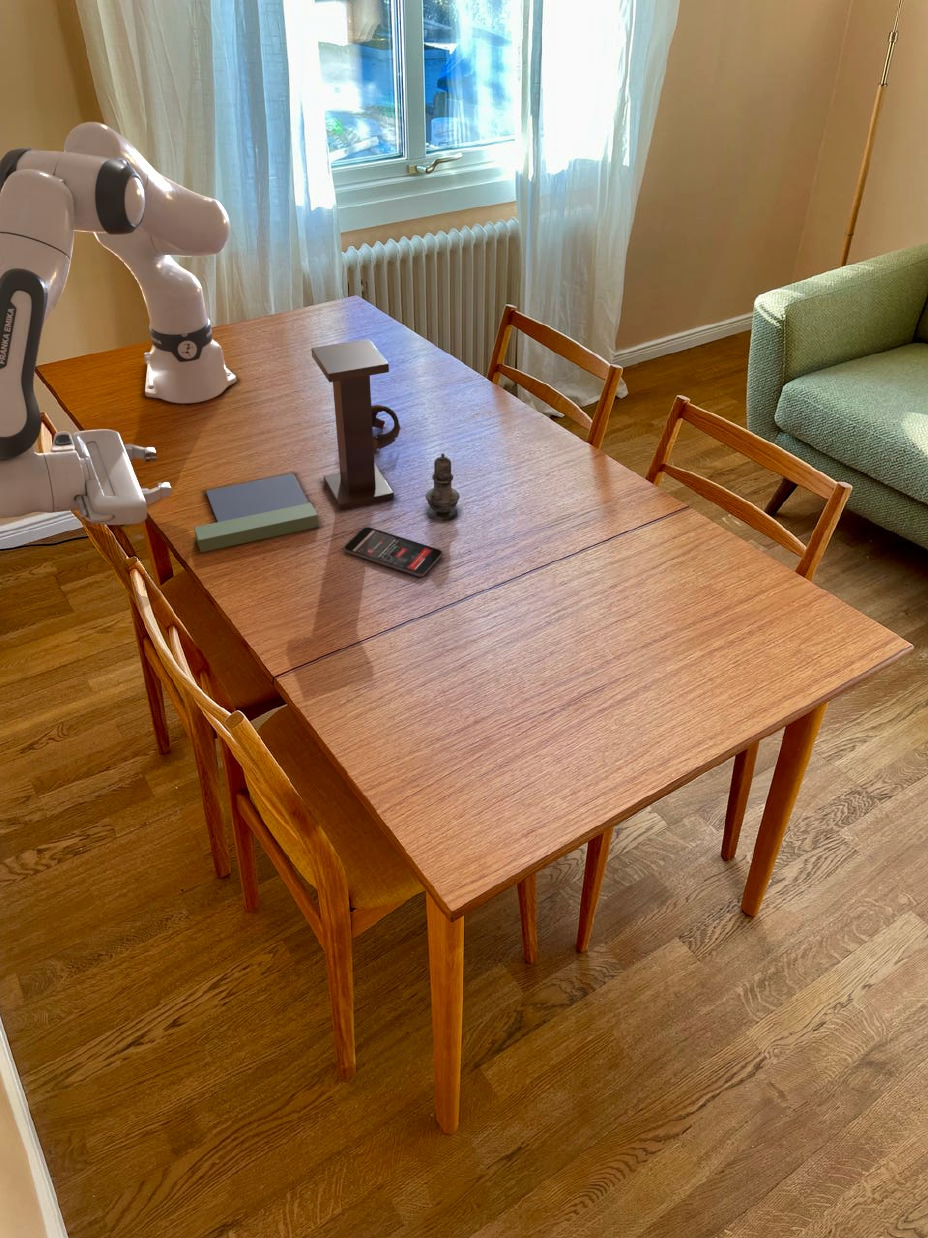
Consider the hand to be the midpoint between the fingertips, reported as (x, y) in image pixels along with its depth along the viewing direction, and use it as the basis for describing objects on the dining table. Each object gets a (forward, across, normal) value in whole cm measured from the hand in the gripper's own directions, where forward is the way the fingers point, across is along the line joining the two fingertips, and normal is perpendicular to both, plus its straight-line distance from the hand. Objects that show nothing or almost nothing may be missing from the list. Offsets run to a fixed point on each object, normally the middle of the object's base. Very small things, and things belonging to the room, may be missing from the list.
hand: (163, 471), depth 148 cm
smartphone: (+33, -19, +8) cm, 38 cm away
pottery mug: (+43, +16, +10) cm, 47 cm away
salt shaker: (+45, -12, +7) cm, 47 cm away
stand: (+35, +1, +10) cm, 36 cm away
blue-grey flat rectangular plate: (+18, +6, +13) cm, 23 cm away
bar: (+15, -4, +12) cm, 19 cm away
